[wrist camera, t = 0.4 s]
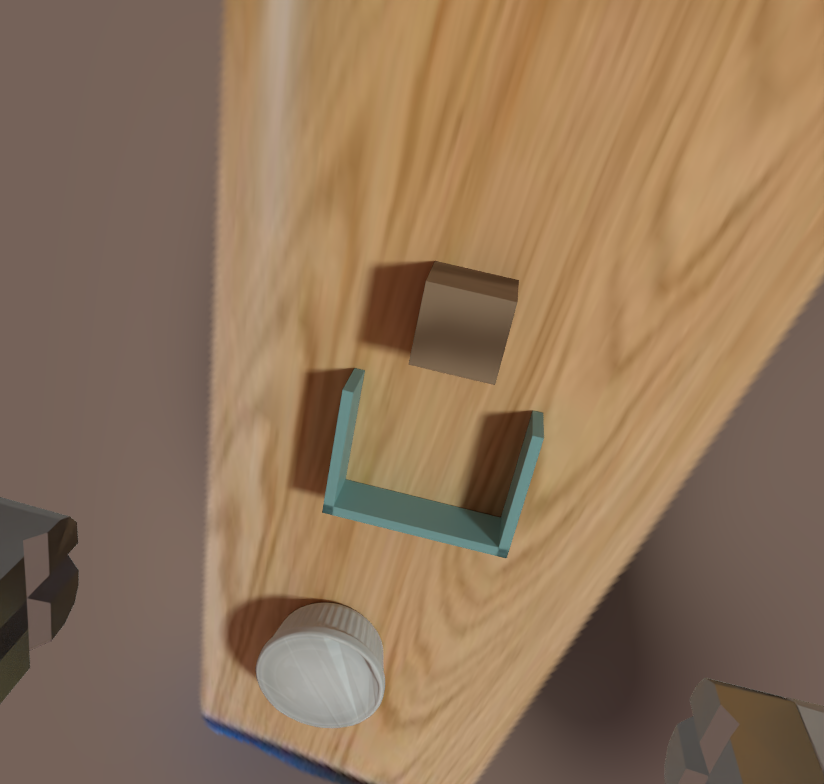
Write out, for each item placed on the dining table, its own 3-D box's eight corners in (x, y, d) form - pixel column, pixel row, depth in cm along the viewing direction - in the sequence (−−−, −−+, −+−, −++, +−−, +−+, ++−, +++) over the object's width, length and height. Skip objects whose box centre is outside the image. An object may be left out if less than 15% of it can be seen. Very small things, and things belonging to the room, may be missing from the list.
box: (354, 368, 57) (342, 389, 53) (543, 412, 56) (543, 438, 53) (334, 484, 62) (322, 512, 58) (508, 527, 61) (506, 558, 57)
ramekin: (418, 646, 68) (409, 691, 63) (340, 702, 72) (326, 748, 68) (325, 569, 66) (309, 611, 61) (251, 632, 70) (230, 675, 65)
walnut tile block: (435, 260, 53) (425, 281, 48) (518, 279, 52) (517, 302, 48) (418, 338, 55) (408, 364, 51) (498, 356, 55) (495, 385, 50)
